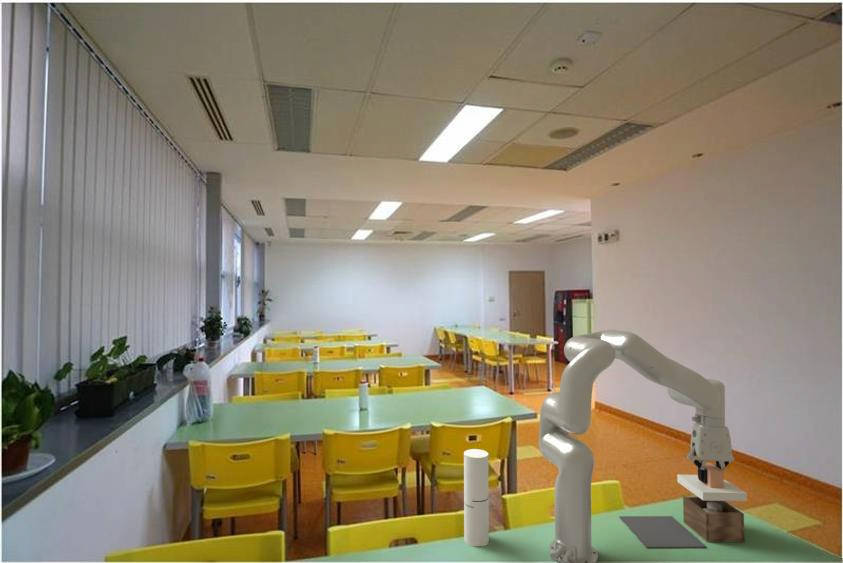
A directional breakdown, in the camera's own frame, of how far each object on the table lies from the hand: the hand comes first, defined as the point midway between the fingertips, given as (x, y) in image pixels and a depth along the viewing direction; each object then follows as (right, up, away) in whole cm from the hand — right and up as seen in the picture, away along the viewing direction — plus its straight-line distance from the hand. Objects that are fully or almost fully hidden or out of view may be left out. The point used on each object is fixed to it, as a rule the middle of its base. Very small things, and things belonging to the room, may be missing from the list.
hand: (710, 481), depth 132 cm
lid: (0, -3, 0) cm, 3 cm away
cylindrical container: (-72, -15, -5) cm, 73 cm away
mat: (-16, -15, 0) cm, 22 cm away
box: (0, -15, 0) cm, 15 cm away
